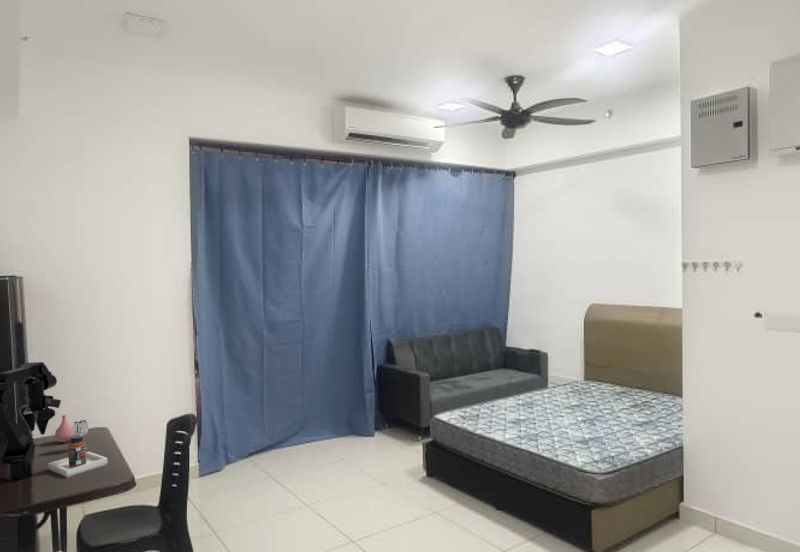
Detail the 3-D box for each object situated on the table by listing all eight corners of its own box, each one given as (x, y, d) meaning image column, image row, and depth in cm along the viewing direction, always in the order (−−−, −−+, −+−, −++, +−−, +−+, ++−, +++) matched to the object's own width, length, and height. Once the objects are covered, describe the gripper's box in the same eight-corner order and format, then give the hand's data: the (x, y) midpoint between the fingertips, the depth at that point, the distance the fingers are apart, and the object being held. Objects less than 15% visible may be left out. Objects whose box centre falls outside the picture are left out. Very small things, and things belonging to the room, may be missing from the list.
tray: (67, 477, 201) (66, 470, 201) (48, 469, 210) (48, 463, 210) (107, 464, 214) (107, 458, 214) (88, 457, 222) (88, 451, 222)
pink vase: (76, 438, 248) (74, 412, 248) (74, 442, 242) (73, 416, 241) (56, 441, 245) (54, 414, 245) (54, 446, 238) (52, 419, 238)
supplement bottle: (83, 467, 210) (82, 438, 209) (66, 468, 208) (65, 439, 208) (88, 461, 215) (87, 433, 215) (72, 463, 214) (70, 434, 214)
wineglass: (78, 452, 229) (76, 424, 228) (71, 450, 232) (69, 422, 232) (92, 448, 234) (90, 420, 233) (84, 446, 237) (83, 419, 236)
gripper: (68, 391, 216) (70, 430, 217) (47, 386, 227) (49, 423, 227) (37, 398, 207) (39, 438, 208) (16, 392, 218) (18, 431, 218)
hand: (37, 432), depth 215 cm, fingers open, 9 cm apart
